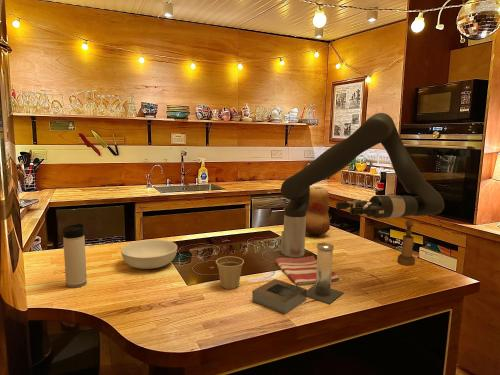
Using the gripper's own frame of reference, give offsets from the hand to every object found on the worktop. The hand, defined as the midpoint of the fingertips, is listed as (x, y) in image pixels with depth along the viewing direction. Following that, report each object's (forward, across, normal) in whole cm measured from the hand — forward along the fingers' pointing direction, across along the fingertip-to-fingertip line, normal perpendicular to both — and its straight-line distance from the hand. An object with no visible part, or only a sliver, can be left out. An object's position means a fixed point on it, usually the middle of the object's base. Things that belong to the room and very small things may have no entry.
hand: (343, 208), depth 115 cm
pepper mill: (-41, +18, -28) cm, 53 cm away
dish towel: (+3, +18, -29) cm, 34 cm away
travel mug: (+83, +26, -28) cm, 92 cm away
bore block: (+21, -2, -28) cm, 35 cm away
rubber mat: (+6, -1, -28) cm, 29 cm away
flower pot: (+34, +13, -28) cm, 46 cm away
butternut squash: (-22, +62, -28) cm, 71 cm away
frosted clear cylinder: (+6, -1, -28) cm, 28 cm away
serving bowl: (+60, +39, -28) cm, 76 cm away
